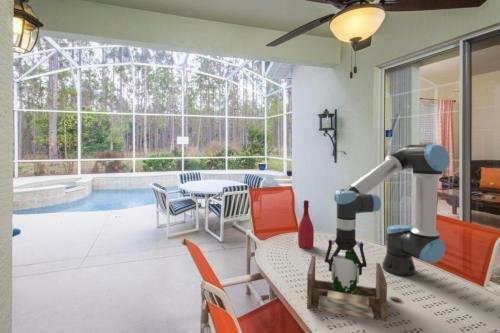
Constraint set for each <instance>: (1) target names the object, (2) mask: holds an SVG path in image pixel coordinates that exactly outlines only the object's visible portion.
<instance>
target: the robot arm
mask: <svg viewBox="0 0 500 333" xmlns="http://www.w3.org/2000/svg"><path fill="white" fill-rule="evenodd" d="M450 162H451V159H450V154H449V152H448V149H446V147H444V146H442V145H440V144H432V143H430V144H408V145H404V146H401V147H400V148H398V149H396V150H394V151H393V152H391V153H389V154H388V155H387V156H386V157H385V158H384V160H383V161H382V162H381V163H379V164H377V166H376V167H373V168H372V169H371V170H370V171H368V172H367V173H366V174H364V175H363V176H361V177H360V178H359V179H357V180H356V181H355V182H353V183H352V184H351V185H349V186H348V187H347V188H341V189H337V190H336V191H335V192H334V195H333V199H334V200H333V201H335V203H336V233H335V234H336V235H335V236H336V237H335V238H334V239H332V238H329V239H328V247H327V250H326V254H325V258H324V262H325V263H327V264H328V271H329V272H331V281H333V277H334V264H333V257H334V256H337V255H338V253H339V252H341V251H345V252H346V251H351V253H352V254H355V253H356V254H355V258H356V262H357V285H359V282H360V276H362V275H363V273H362V272H363V268H367V266H368V265H367V260H366V257H365V253H364V242H363V241H357V240H356V222H357V221H356V220H357V218H356V217H357V214H364V213H375V212H378V211H379V210H380V209H381V208H382V207H381V206H382V201H381V198H380V197H379V195H377V194H375V193H373V194H372V193H370V192H371V191H372V190H374V189H375V188H377V187H378V186H379V185H381V184H382V183H383V182H385V181H386V180H387V179H389V178H390V177H391V176H393V175H394V174H396V173H397V174H398V173H401V171H403V170H407V169H412V174H413V175H414V176H415V178H416V179H415V195H414V196H415V198H414V199H415V200H414V222H413V223H414V224H413V226H411V225H406V224H405V225H404V224H395V225H393V224H392V225H389V226H388V227H387V231H386V253H385V256H384V258H383V260H382V265H381V268H382V270H384V271H385V272H387V273H390V274H393V275H395V276H400V277H401V276H403V277H411V276H414V275H415V274H416V265H415V263H414V259H413V258H415V259H418V260H420V261H422V262H425V263H428V264H435V263H437V262H439V261H440V260H441V259H442V258H443V256H444V255H445V252H446V243H445V242H444V241H443V240H441V239H440V232H439V231H437V229H436V228H437V213H438V212H437V211H438V210H437V209H438V189H439V178H441V176H443V172H444V171H445V170H447V169H448V166H450ZM334 244H336V249H335V250H334V252H333V254H332V255H331V251H332V248H333V246H334ZM355 246H357V248H359V252H360V256H361V260H362V261H361V260H360V258H359V256H358V255H357V252H356V250H355V249H354V248H355ZM330 255H331V257H330Z"/></svg>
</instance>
